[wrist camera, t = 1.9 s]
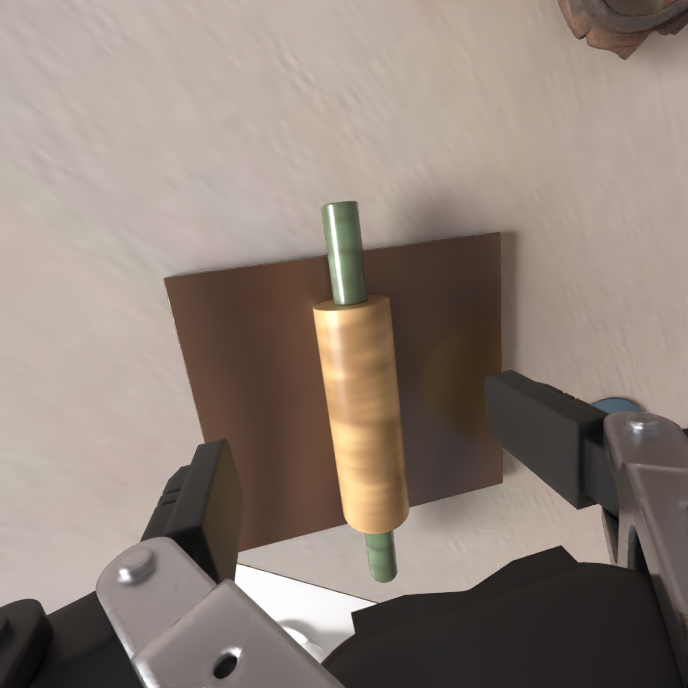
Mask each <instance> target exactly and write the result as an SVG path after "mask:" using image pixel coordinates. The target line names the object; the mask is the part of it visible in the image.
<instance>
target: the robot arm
mask: <svg viewBox="0 0 688 688" xmlns="http://www.w3.org/2000/svg"><path fill="white" fill-rule="evenodd" d="M484 390H485V404H486V417H487V425H488V428H489V431H490V433H491V435H492V436H493V438H494V439H495V440H496V441H497V442H498V443H499V444H500V445H502V446H503V447H504V448H505V449H506V450H507V451H509V452H510V453H511V454H512V455H513V456H515V457H516V458H517V459H518V460H519V461H520V462H522V463H523V464H524V465H525V466H526V467H528V468H529V469H530V470H531V471H532V472H534V473H535V474H536V475H537V476H538V477H539V478H541V479H542V480H543V481H544V482H545V483H547V484H548V485H549V486H550V487H551V488H552V489H554V490H555V491H556V492H557V493H558V494H560V495H561V496H562V497H563V498H564V499H565V500H567V501H568V502H569V503H570V504H571V505H573V506H574V507H575V508H576V509H577V510H579V509H582V508H586V507H589V506H592V505H595V504H600V505H601V506H602V523H603V528H604V533H605V538H606V543H607V547H608V552H609V557H610V562H611V565H609V564H602V563H587V562H580V563H578V562H577V561H576V560H575V559H574V558H573V557H572V556H571V555H570V554H569V553H568V552H567V551H566V550H565V549H564V548H563V547H562V546H558V547H554V548H551V549H548V550H545V551H542V552H539V553H536V554H532V555H529V556H526V557H523V558H520V559H517V560H514V561H512V562H510V563H509V564H507V565H506V566H504V567H503V568H501V569H500V570H498V571H497V572H495V573H494V574H492V575H491V576H489V577H488V578H486V579H485V580H484V581H482V582H481V583H479V584H478V585H476V586H475V587H473V588H471V589H470V590H467V591H461V592H445V593H429V594H412V595H404V596H401V597H397V598H394V599H391V600H388V601H385V602H382V603H379V604H375V605H372V606H369V607H366V608H363V609H360V610H357V611H354V612H351V617H352V621H353V626H354V631H355V634H354V635H352V636H351V637H349V638H348V639H346V640H345V641H343V642H342V643H341V644H340V645H339V646H338V647H336V648H335V649H334V650H333V651H332V652H331V653H330V654H329V655H328V656H327V657H326V658H325V659H324V660H323V661H322V662H321V664H320V663H319V662H318V661H317V660H316V659H315V658H314V657H313V656H312V655H311V654H310V653H309V652H307V651H306V650H305V649H304V648H303V647H302V646H301V645H300V644H299V643H298V642H297V641H296V640H295V639H294V638H293V637H292V636H291V635H290V634H288V633H287V632H286V631H285V630H284V629H283V628H282V627H281V626H280V625H279V624H278V623H277V622H276V621H275V620H274V619H273V618H272V617H270V616H269V615H268V614H267V613H266V612H265V611H264V610H263V609H262V608H261V607H260V606H259V605H258V604H257V603H256V602H255V601H254V600H253V599H251V598H250V597H249V596H248V595H247V594H246V593H245V592H244V591H243V590H242V589H241V588H240V587H239V586H238V585H237V584H236V583H235V575H236V566H237V558H238V550H239V541H240V533H241V524H242V516H243V507H244V502H243V492H242V487H241V483H240V480H239V476H238V473H237V469H236V466H235V462H234V459H233V456H232V452H231V449H230V445H229V443H228V441H227V439H221V440H217V441H213V442H209V443H205V444H200V445H198V447H197V450H196V452H195V455H194V457H193V460H192V462H191V465H187V466H183V467H181V468H180V469H179V470H178V471H177V472H176V473H175V474H174V475H173V476H172V477H171V478H170V479H169V480H168V482H167V485H166V487H165V489H164V491H163V493H162V494H163V496H161V497H160V500H159V502H158V504H157V507H156V508H155V510H154V513H153V515H152V517H151V519H150V521H149V523H148V525H147V528H146V530H145V532H144V534H143V536H142V538H141V541H140V543H138V544H136V545H134V546H132V547H130V548H128V549H127V550H125V551H124V552H122V553H121V554H120V555H118V556H117V557H116V558H115V559H114V560H113V561H112V562H111V563H110V564H109V565H108V566H107V567H106V568H105V569H104V571H103V572H102V573H101V575H100V577H99V579H98V581H97V584H96V591H94V592H92V593H90V594H88V595H86V596H84V597H83V598H81V599H79V600H77V601H75V602H73V603H71V604H69V605H67V606H65V607H63V608H61V609H59V610H57V611H55V612H53V613H51V614H49V615H46V613H45V611H44V609H43V607H42V605H41V603H40V602H39V601H37V600H34V599H24V600H19V601H15V602H12V603H10V604H7V605H5V606H3V607H0V688H688V428H687V429H681V428H680V426H679V425H677V424H676V423H675V422H673V421H671V420H669V419H667V418H664V417H662V416H658V415H655V414H650V413H645V412H635V411H625V412H617V413H613V414H609V413H607V412H605V411H603V410H600V409H598V408H596V407H594V406H592V405H590V404H588V403H586V402H584V401H582V400H580V399H575V398H574V397H573V396H571V395H569V394H567V393H563V391H561V390H559V389H557V388H555V387H552V386H550V385H548V384H543V383H539V382H535V381H533V380H531V379H529V378H527V377H525V376H523V375H521V374H518V373H516V372H514V371H512V370H508V371H504V372H500V373H495V374H491V375H488V376H486V377H485V380H484Z"/></svg>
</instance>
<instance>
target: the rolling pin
mask: <svg viewBox="0 0 688 688" xmlns="http://www.w3.org/2000/svg"><path fill="white" fill-rule="evenodd" d="M321 209H322V217H323V224H324V232H325V239H326V247H327V254H328V261H329V269H330V276H331V284H332V291H333V300H328V301H325V302H321V303H319V304H317V305H315V306H314V307H313V313H314V320H315V326H316V333H317V340H318V346H319V353H320V359H321V366H322V373H323V379H324V386H325V393H326V399H327V406H328V413H329V419H330V426H331V433H332V439H333V446H334V453H335V459H336V466H337V473H338V479H339V486H340V493H341V499H342V506H343V513H344V517H345V519H346V521H347V523H348V524H349V525H350V526H351V527H353V528H354V529H356V530H358V531H360V532H364V533H365V538H366V546H367V553H368V561H369V568H370V574H371V576H372V578H373V579H374V580H376V581H377V582H381V583H386V582H390V581H392V580H393V579H394V578H395V577H396V575H397V563H396V553H395V544H394V535H393V530H394V529H396V528H397V527H399V526H400V525H401V524H402V523H403V522H404V521H405V520H406V518H407V516H408V513H409V500H408V489H407V478H406V467H405V457H404V446H403V435H402V424H401V413H400V402H399V391H398V380H397V369H396V359H395V348H394V337H393V326H392V315H391V304H390V298H389V297H388V296H383V295H367V285H366V276H365V267H364V258H363V248H362V239H361V230H360V221H359V211H358V203H357V202H356V201H344V202H336V203H331V204H326V205H323V206H322V207H321Z"/></svg>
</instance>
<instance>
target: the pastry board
mask: <svg viewBox="0 0 688 688" xmlns="http://www.w3.org/2000/svg"><path fill="white" fill-rule="evenodd" d="M363 258H364V267H365V276H366V285H367V295H383V296H388V297H389V298H390V304H391V315H392V326H393V337H394V348H395V359H396V369H397V380H398V391H399V402H400V413H401V424H402V435H403V446H404V457H405V467H406V478H407V489H408V500H409V507H413V506H417V505H421V504H424V503H428V502H432V501H436V500H440V499H444V498H447V497H451V496H455V495H459V494H463V493H466V492H470V491H474V490H478V489H482V488H486V487H489V486H493V485H497V484H501V483H503V470H502V445H500V444H499V443H498V442H497V441H496V440H495V439H494V438H493V436H492V435H491V433H490V431H489V428H488V425H487V417H486V404H485V390H484V380H485V377H486V376H488V375H491V374H495V373H500V372H502V366H501V263H500V232H495V233H486V234H479V235H471V236H464V237H457V238H449V239H442V240H434V241H427V242H420V243H412V244H405V245H398V246H390V247H383V248H376V249H368V250H363ZM163 282H164V286H165V290H166V293H167V297H168V301H169V305H170V309H171V313H172V317H173V321H174V325H175V329H176V332H177V336H178V340H179V344H180V348H181V352H182V356H183V360H184V364H185V367H186V371H187V375H188V379H189V383H190V387H191V391H192V395H193V399H194V403H195V406H196V410H197V414H198V418H199V422H200V426H201V430H202V434H203V438H204V442H205V443H209V442H213V441H217V440H221V439H227V441H228V443H229V445H230V449H231V452H232V456H233V459H234V462H235V466H236V469H237V473H238V476H239V480H240V483H241V487H242V492H243V502H244V507H243V516H242V524H241V533H240V541H239V550H238V552H241V551H245V550H249V549H253V548H256V547H260V546H264V545H268V544H272V543H275V542H279V541H283V540H287V539H291V538H295V537H298V536H302V535H306V534H310V533H314V532H317V531H321V530H325V529H329V528H333V527H337V526H340V525H344V524H348V523H347V521H346V519H345V517H344V513H343V506H342V499H341V493H340V486H339V479H338V473H337V466H336V459H335V453H334V446H333V439H332V433H331V426H330V419H329V413H328V406H327V399H326V393H325V386H324V379H323V373H322V366H321V359H320V353H319V346H318V340H317V333H316V326H315V320H314V313H313V307H314V306H315V305H317V304H319V303H321V302H325V301H328V300H333V291H332V284H331V276H330V269H329V261H328V255H324V256H317V257H310V258H302V259H295V260H288V261H280V262H273V263H266V264H258V265H251V266H244V267H236V268H229V269H222V270H214V271H207V272H200V273H192V274H185V275H178V276H170V277H165V278H163Z"/></svg>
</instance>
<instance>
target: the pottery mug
mask: <svg viewBox="0 0 688 688" xmlns="http://www.w3.org/2000/svg"><path fill="white" fill-rule="evenodd" d="M558 3H559V5H560V8H561V11H562V13H563V16H564V18H565V20H566V22H567V25H568V26H569V28H570V29H571V30H572V32H573V34H574V36H575V37H576V38H577V39H582V38H584V37H587V44H588V45H589V46H591V47H594V48H598V49H604V50H609V51H612V52H614V53H616V54H618V55H619V57H621V58H622V59H624V60H626V59H627V58H628V57H629V56H630V55H631V54H632V53H633V52H634V51H635V50H636V49H637V48H638V47H639V46H640V45H641V44H642V43H643V41H644V40H645V39H646V38H647V36H648V35H649V34H650V33H651V32H652V31H653V32H654V31H658V33H659V34H661V35H667V34H670V33H671V34H673V35H675V34H677V33H678V32H679V31H680V30H681V29H682V28H683V27H684V26H686V25H687V23H688V0H665V1H664V4H663V6H662V8H661V10H658V11H657V12H655V13H651V14H648V15H639V16H630V15H624V14H620V13H618V12H617V11H615V10H613V9H612V8H611V7H610V6H609V5H607V3H606V1H605V0H558Z"/></svg>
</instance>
